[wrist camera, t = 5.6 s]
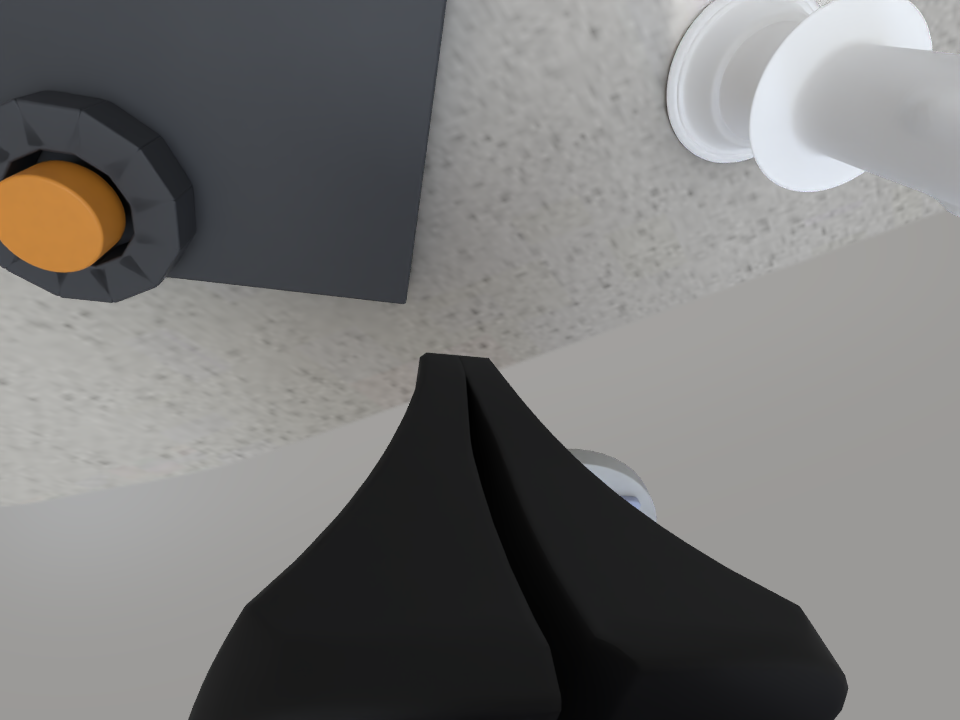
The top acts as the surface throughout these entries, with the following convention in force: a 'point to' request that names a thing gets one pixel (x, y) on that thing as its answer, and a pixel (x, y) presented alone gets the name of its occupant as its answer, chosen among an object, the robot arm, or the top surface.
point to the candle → (820, 94)
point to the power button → (59, 216)
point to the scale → (230, 136)
